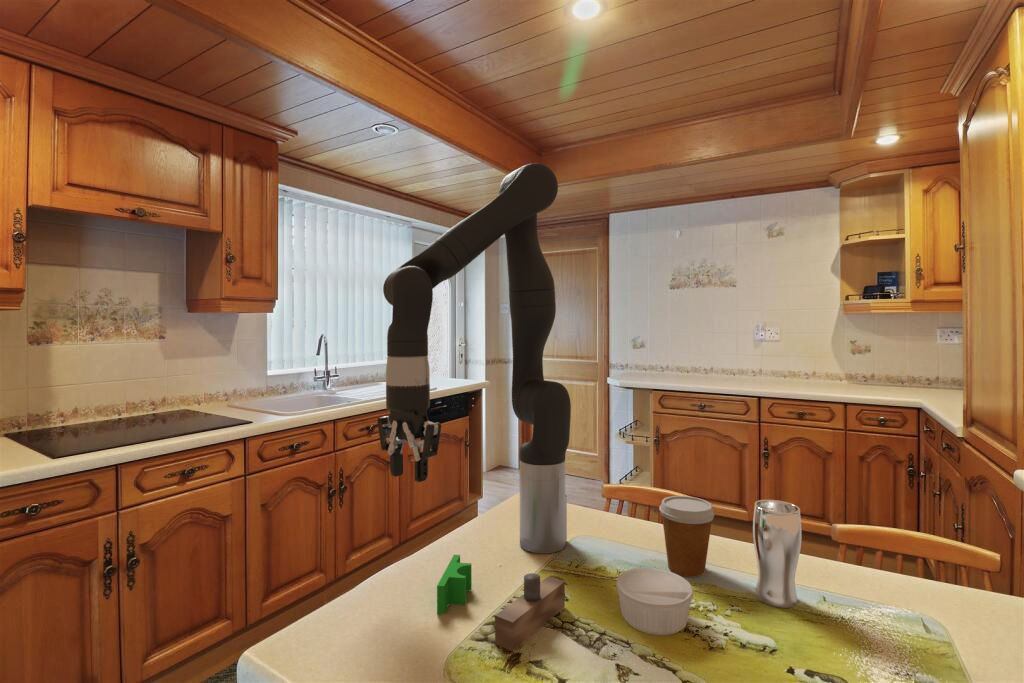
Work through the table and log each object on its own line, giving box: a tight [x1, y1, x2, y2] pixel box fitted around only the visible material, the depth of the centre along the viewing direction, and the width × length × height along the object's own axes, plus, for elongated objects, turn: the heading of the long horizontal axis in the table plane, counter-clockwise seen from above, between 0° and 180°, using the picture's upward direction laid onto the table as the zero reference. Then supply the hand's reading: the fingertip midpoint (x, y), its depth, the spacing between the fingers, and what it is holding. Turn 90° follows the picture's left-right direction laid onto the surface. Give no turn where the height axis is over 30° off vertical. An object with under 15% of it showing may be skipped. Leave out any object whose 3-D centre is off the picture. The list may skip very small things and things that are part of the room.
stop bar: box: [494, 573, 566, 652], centre depth 76 cm, size 14×3×7 cm, turn 144°
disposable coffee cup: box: [658, 495, 716, 578], centre depth 94 cm, size 10×10×12 cm
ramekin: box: [615, 567, 694, 636], centre depth 78 cm, size 11×11×5 cm
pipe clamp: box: [436, 554, 472, 615], centre depth 85 cm, size 11×4×5 cm, turn 173°
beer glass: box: [752, 499, 803, 609], centre depth 84 cm, size 7×7×15 cm
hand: (408, 477), depth 91 cm, fingers open, 5 cm apart
